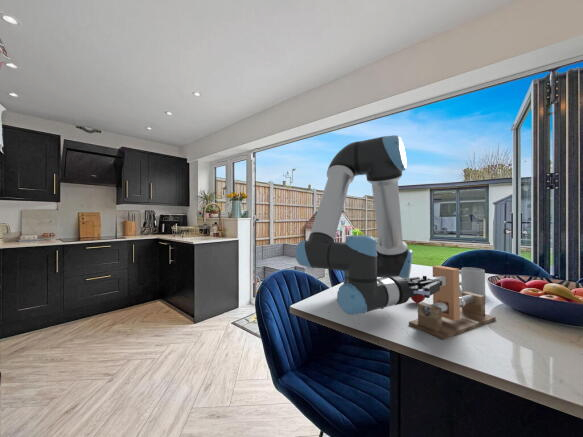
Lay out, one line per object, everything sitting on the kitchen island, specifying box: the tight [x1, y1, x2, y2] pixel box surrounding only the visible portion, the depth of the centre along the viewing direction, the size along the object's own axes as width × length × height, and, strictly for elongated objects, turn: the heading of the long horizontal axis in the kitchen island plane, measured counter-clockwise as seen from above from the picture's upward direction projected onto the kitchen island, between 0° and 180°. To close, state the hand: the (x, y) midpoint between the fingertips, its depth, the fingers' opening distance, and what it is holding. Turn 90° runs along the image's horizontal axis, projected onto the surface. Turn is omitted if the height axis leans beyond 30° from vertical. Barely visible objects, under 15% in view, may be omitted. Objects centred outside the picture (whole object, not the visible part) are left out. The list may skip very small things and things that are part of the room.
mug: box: [459, 267, 486, 297], centre depth 110 cm, size 12×8×11 cm
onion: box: [409, 294, 426, 304], centre depth 98 cm, size 6×6×8 cm
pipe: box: [422, 295, 476, 317], centre depth 80 cm, size 26×3×3 cm, turn 116°
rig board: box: [408, 291, 497, 341], centre depth 80 cm, size 28×11×8 cm, turn 116°
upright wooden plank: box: [432, 265, 460, 321], centre depth 78 cm, size 3×7×16 cm, turn 26°
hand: (443, 280), depth 77 cm, fingers closed
